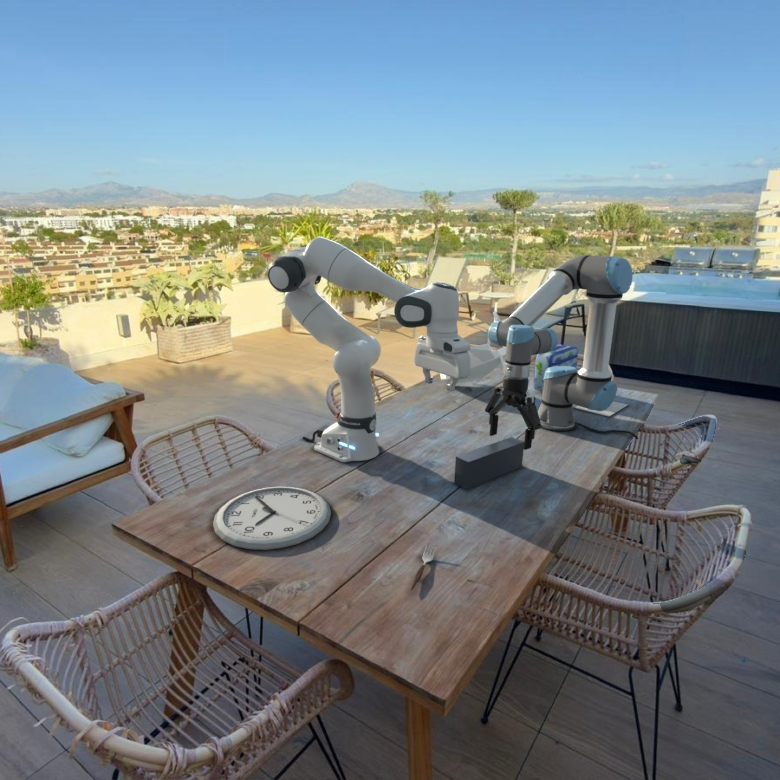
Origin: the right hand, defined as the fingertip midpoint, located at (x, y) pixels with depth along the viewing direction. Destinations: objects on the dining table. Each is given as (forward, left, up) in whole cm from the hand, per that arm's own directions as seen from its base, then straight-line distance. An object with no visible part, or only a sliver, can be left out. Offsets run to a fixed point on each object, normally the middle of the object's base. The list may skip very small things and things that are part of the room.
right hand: (509, 441), depth 165 cm
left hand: (+23, +8, +19) cm, 31 cm away
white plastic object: (+5, -79, -9) cm, 80 cm away
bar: (+6, +6, -9) cm, 12 cm away
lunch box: (-30, -90, -9) cm, 96 cm away
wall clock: (+64, +40, -9) cm, 76 cm away
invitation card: (-46, -67, -9) cm, 82 cm away
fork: (+24, +57, -9) cm, 62 cm away
